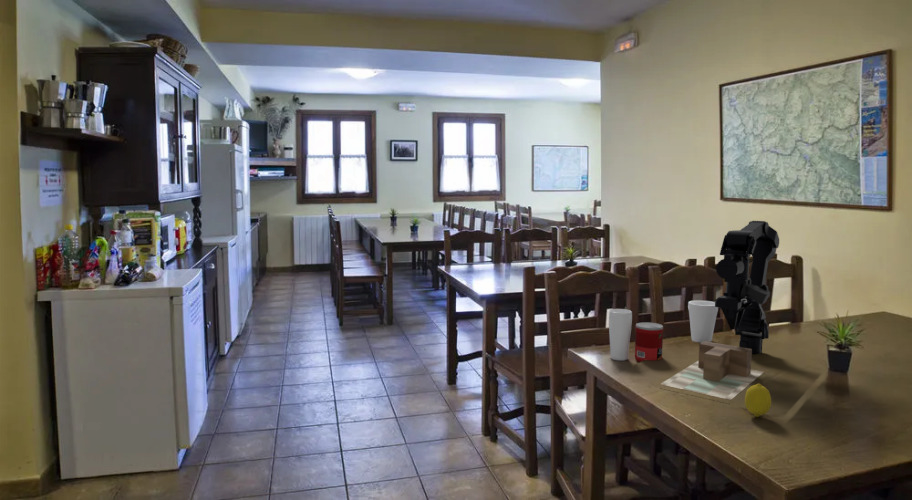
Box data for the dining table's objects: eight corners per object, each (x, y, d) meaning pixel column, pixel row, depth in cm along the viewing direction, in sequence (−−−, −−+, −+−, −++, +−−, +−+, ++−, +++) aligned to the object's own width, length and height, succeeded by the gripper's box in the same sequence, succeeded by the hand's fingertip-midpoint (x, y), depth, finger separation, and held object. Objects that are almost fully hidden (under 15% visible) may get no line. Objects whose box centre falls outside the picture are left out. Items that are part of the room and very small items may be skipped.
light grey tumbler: (631, 356, 195) (632, 309, 194) (629, 362, 189) (631, 314, 187) (608, 354, 198) (610, 307, 196) (606, 360, 191) (608, 312, 189)
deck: (699, 363, 188) (699, 359, 188) (763, 376, 176) (764, 371, 176) (659, 388, 166) (660, 384, 166) (730, 404, 155) (730, 399, 154)
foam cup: (685, 336, 220) (687, 299, 219) (714, 337, 218) (716, 301, 216) (688, 343, 211) (689, 305, 210) (717, 345, 209) (719, 306, 207)
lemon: (739, 412, 149) (741, 380, 148) (761, 412, 150) (763, 379, 149) (752, 421, 144) (754, 388, 143) (775, 421, 144) (777, 387, 143)
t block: (703, 364, 183) (704, 341, 182) (750, 373, 175) (751, 349, 174) (686, 375, 174) (687, 350, 173) (735, 385, 165) (737, 359, 164)
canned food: (663, 364, 187) (664, 328, 186) (635, 363, 189) (636, 327, 187) (660, 357, 195) (661, 322, 193) (633, 356, 196) (634, 321, 195)
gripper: (758, 282, 168) (754, 339, 170) (776, 274, 182) (773, 326, 184) (715, 277, 175) (712, 332, 177) (736, 270, 189) (733, 320, 191)
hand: (734, 328), depth 182 cm, fingers open, 4 cm apart
